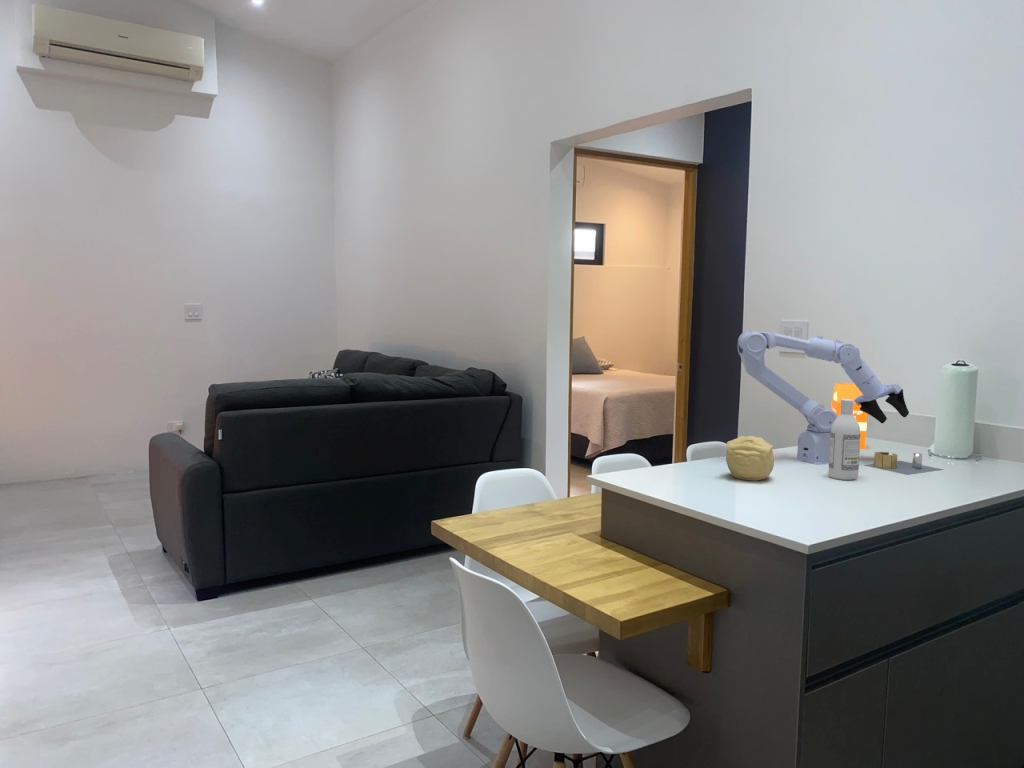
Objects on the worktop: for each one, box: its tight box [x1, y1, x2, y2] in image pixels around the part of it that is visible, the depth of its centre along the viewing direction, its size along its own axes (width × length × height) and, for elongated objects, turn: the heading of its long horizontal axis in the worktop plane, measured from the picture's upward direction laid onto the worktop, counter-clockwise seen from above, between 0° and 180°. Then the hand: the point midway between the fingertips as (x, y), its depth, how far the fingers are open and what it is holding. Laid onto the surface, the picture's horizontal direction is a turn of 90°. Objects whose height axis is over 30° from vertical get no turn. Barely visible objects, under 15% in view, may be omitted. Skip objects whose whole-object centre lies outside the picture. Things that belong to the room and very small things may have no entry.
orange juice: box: [830, 382, 868, 450], centre depth 232 cm, size 8×9×20 cm
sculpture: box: [725, 435, 775, 481], centre depth 189 cm, size 11×12×11 cm
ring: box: [873, 451, 898, 469], centre depth 202 cm, size 5×5×4 cm
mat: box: [863, 460, 945, 476], centre depth 202 cm, size 15×13×1 cm
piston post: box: [911, 452, 923, 469], centre depth 200 cm, size 2×2×4 cm
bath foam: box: [828, 399, 861, 481], centre depth 190 cm, size 7×7×20 cm
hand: (895, 418), depth 207 cm, fingers open, 7 cm apart
